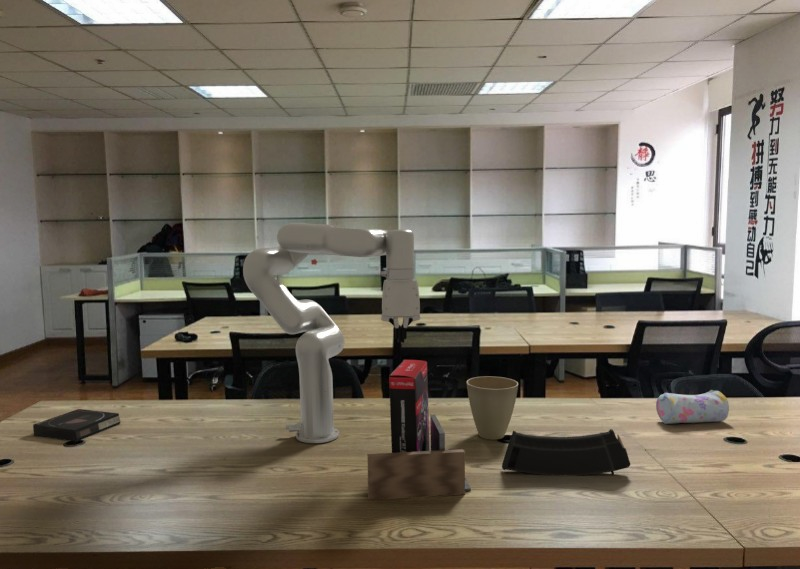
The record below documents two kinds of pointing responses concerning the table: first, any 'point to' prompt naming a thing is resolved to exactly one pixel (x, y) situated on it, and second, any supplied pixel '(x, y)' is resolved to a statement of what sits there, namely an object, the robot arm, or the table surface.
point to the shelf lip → (416, 474)
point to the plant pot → (492, 404)
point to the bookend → (440, 440)
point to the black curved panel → (566, 454)
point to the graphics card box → (409, 407)
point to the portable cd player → (76, 425)
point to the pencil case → (692, 407)
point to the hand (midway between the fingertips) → (400, 341)
